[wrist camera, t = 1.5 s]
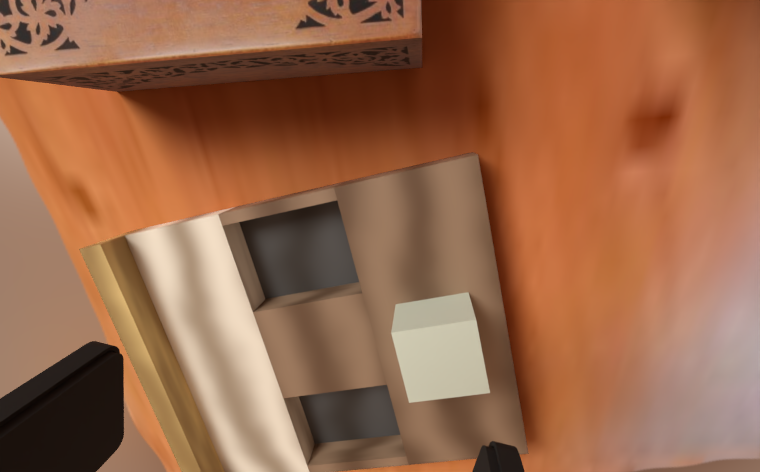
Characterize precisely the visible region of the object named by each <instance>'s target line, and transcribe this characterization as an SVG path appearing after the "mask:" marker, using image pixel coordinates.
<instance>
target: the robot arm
mask: <svg viewBox="0 0 760 472" xmlns="http://www.w3.org/2000/svg"><path fill="white" fill-rule="evenodd" d="M123 409H124V387H123V356H122V354H120V352H119V349H118V348H117V347H115V346H112V345H108V344H104V343H100V342H96V341H93V342H89V343H88V344H86V345H84V346H82V347H81V348H79V349H78V350H76V351H75V352H73V353H71V354H70V355H68V356H67V357H65V358H64V359H62V360H60V361H59V362H57V363H56V364H54V365H53V366H51V367H49V368H48V369H46V370H45V371H43V372H42V373H40V374H38V375H37V376H35V377H34V378H32V379H31V380H29V381H27V382H26V383H24V384H23V385H21V386H20V387H18V388H17V389H15V390H13V391H12V392H10V393H9V394H7V395H5V396H4V397H2V398H1V399H0V472H96V471H97V470H98V469H99V468H100V467H101V466H102V465H103V464H104V463H105V462H106V461H107V460H108V459H109V457H110V456H111V455H112V454H113V453H114V452H115V451H116V450H117V449H118V447H119V446H120V444H121V442H122V439H123V435H124V410H123ZM473 472H524V468H523V465H522V462H521V458H520V455H519V452H518V449H517V448H516V447H515V446H511V445H507V444H503V443H499V442H495V441H491V442H490V444H489V446H485V445H483V446H482V447H481V449H480V452H479V455H478V458H477V461H476V463H475V466H474V469H473Z"/></svg>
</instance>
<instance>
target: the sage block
mask: <svg viewBox="0 0 760 472" xmlns="http://www.w3.org/2000/svg"><path fill="white" fill-rule="evenodd" d="M391 334H392V338H393V342H394V346H395V350H396V354H397V358H398V361H399V365H400V369H401V373H402V377H403V381H404V385H405V389H406V393H407V397H408V400H409V403H413V402H421V401H429V400H437V399H445V398H454V397H462V396H470V395H478V394H486V393H490V390H489V384H488V379H487V374H486V369H485V363H484V358H483V353H482V348H481V342H480V337H479V332H478V327H477V321H476V317H475V314H474V310H473V307H472V303H471V299H470V296H469V292H467V293H461V294H455V295H449V296H443V297H437V298H431V299H425V300H419V301H413V302H407V303H401V304H396V305H395V312H394V318H393V324H392V331H391Z"/></svg>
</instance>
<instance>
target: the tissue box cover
mask: <svg viewBox="0 0 760 472" xmlns="http://www.w3.org/2000/svg"><path fill="white" fill-rule="evenodd" d="M410 68H422V17H421V0H0V77H1V78H10V79H18V80H26V81H34V82H42V83H51V84H59V85H67V86H75V87H83V88H91V89H100V90H108V91H116V92H119V91H132V90H145V89H157V88H170V87H183V86H195V85H208V84H220V83H233V82H246V81H258V80H271V79H284V78H296V77H309V76H322V75H334V74H347V73H360V72H372V71H385V70H397V69H410Z"/></svg>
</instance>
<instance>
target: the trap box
mask: <svg viewBox="0 0 760 472" xmlns="http://www.w3.org/2000/svg"><path fill="white" fill-rule="evenodd" d="M79 250H80V252H81V254H82V256H83V258H84V261H85V263H86V265H87V267H88V269H89V271H90V274H91V276H92V278H93V280H94V282H95V284H96V287H97V289H98V291H99V293H100V295H101V297H102V300H103V302H104V304H105V306H106V308H107V311H108V313H109V315H110V317H111V319H112V321H113V324H114V326H115V328H116V330H117V332H118V334H119V337H120V339H121V341H122V343H123V345H124V347H125V350H126V352H127V354H128V356H129V358H130V360H131V363H132V365H133V367H134V369H135V371H136V373H137V376H138V378H139V380H140V382H141V384H142V386H143V389H144V391H145V393H146V395H147V397H148V399H149V402H150V404H151V406H152V408H153V410H154V413H155V415H156V417H157V419H158V421H159V423H160V426H161V428H162V430H163V432H164V434H165V436H166V439H167V441H168V443H169V445H170V447H171V449H172V452H173V454H174V456H175V458H176V460H177V462H178V465H179V467H180V469H181V471H182V472H336V471H347V470H358V469H369V468H379V467H390V466H401V465H411V464H422V463H433V462H444V461H454V460H465V459H476V458H478V455H479V452H480V449H481V447H482V446H483V445H485V446H489V444H490V442H491V441H495V442H499V443H503V444H507V445H511V446H515V447H516V448H517V449H518V452H519V454H528V448H527V442H526V436H525V430H524V424H523V418H522V412H521V406H520V400H519V394H518V388H517V383H516V377H515V371H514V365H513V359H512V353H511V347H510V341H509V335H508V329H507V323H506V317H505V312H504V306H503V300H502V294H501V288H500V282H499V276H498V270H497V264H496V258H495V252H494V246H493V241H492V235H491V229H490V223H489V217H488V211H487V205H486V199H485V193H484V187H483V181H482V176H481V170H480V164H479V158H478V154H476V153H473V152H471V153H467V154H463V155H458V156H454V157H450V158H445V159H441V160H437V161H432V162H428V163H424V164H419V165H415V166H411V167H406V168H402V169H398V170H393V171H389V172H385V173H380V174H376V175H372V176H368V177H363V178H359V179H355V180H350V181H346V182H342V183H337V184H333V185H329V186H324V187H320V188H316V189H311V190H307V191H303V192H298V193H294V194H290V195H285V196H281V197H277V198H272V199H268V200H264V201H259V202H255V203H251V204H246V205H242V206H238V207H233V208H229V209H225V210H220V211H216V212H212V213H207V214H203V215H199V216H195V217H190V218H186V219H182V220H177V221H173V222H169V223H164V224H160V225H156V226H151V227H147V228H143V229H138V230H134V231H130V232H127V233H124V234H121V235H119V236H116V237H113V238H110V239H107V240H104V241H101V242H98V243H96V244H93V245H90V246H87V247H84V248H81V249H79ZM467 292H469V296H470V299H471V303H472V307H473V310H474V314H475V317H476V321H477V327H478V332H479V337H480V342H481V348H482V353H483V358H484V363H485V369H486V374H487V379H488V384H489V390H490V393H486V394H478V395H470V396H462V397H454V398H445V399H437V400H429V401H421V402H413V403H409V400H408V397H407V393H406V389H405V385H404V381H403V377H402V373H401V369H400V365H399V361H398V358H397V354H396V350H395V346H394V342H393V338H392V334H391V331H392V324H393V318H394V312H395V305H396V304H401V303H407V302H413V301H419V300H425V299H431V298H437V297H443V296H449V295H455V294H461V293H467Z"/></svg>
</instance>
